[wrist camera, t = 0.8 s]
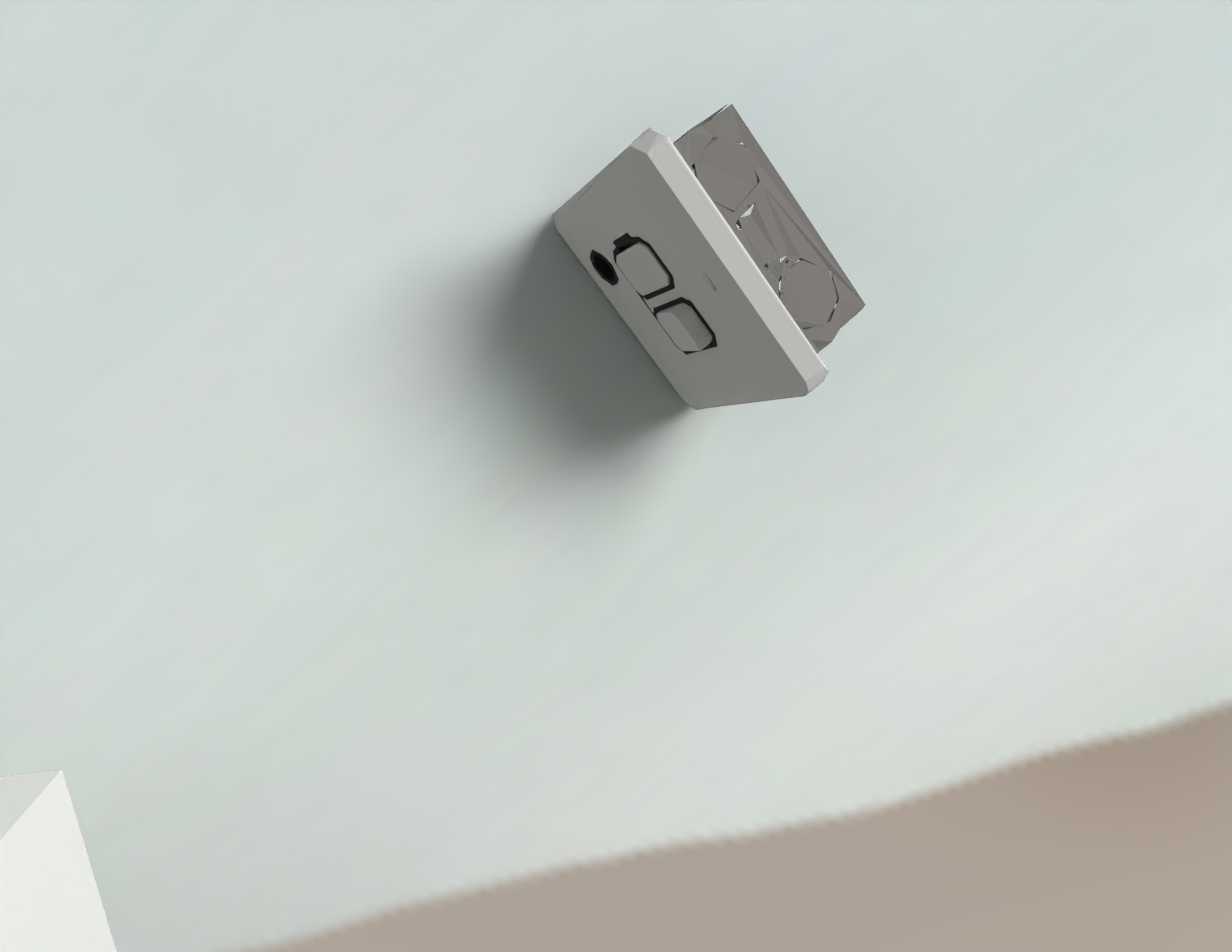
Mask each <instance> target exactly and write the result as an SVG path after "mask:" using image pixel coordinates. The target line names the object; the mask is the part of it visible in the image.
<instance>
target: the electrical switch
mask: <svg viewBox="0 0 1232 952" xmlns="http://www.w3.org/2000/svg"><path fill="white" fill-rule="evenodd" d="M724 107H725V106H724ZM724 107H723V108H724ZM723 108H721V109H720V110H718V111H717V112H716V113H714V114H713V115H711V116H710V117H708V118H707V119H705V120H704V121H702V122H701V123H699V124H698V125H696V126H695V127H693V128H692V129H690V130H689V131H688V132H686V133H685V134H684V135H683V136H682V137H680V138H679V139H678V140H677V141H675V142H674V143H672V141H671V140H670V138H669V137H668V135H666V134H663V133H661V132H659V131H657V130H655V129H653V128H651V127H650V128H649V129H647V130H646V131H645V132H643V133H642V134H641V135H640V136H639V137H638V138H637V139H636V140H635V141H634V142H633V143H632V144H631V145H630V146H629V147H628V148H627V149H625V150H624V151H623V152H622V153H621V154H620V155H619V156H618V157H616V158H615V159H614V160H613V161H612V162H611V163H610V164H609V165H608V166H606V167H605V168H604V169H603V170H602V171H601V172H600V173H599V174H597V175H596V176H595V177H594V178H593V179H592V180H591V181H590V182H589V183H587V184H586V185H585V186H584V187H583V188H582V189H581V190H580V191H578V192H577V193H576V194H575V195H574V196H573V197H572V198H571V199H570V200H568V201H567V202H566V203H565V204H563V205H562V206H561V207H560V208H559V209H558V210H557V211H556V212H555V213H554V214H553V219H554V222H555V226H556V229H557V231H558V232H559V234H560V235H561V236H562V238H563V239H564V240H565V242H566V243H567V244H568V246H569V247H570V249H571V250H572V251H573V253H574V254H575V255H576V257H577V258H578V259H579V261H580V262H581V263H582V265H583V266H584V267H585V269H586V270H587V271H588V273H589V274H590V276H591V277H592V278H593V280H594V281H595V282H596V284H597V285H598V286H599V288H600V289H601V290H602V292H603V293H604V294H605V296H606V297H607V298H608V300H609V301H610V303H611V304H612V305H613V307H614V308H615V309H616V311H617V312H618V313H619V315H620V316H621V317H622V319H623V320H624V321H625V323H626V324H627V325H628V327H629V328H630V329H631V331H632V332H633V334H634V335H635V336H636V338H637V339H638V340H639V342H640V343H641V344H642V346H643V347H644V348H645V350H646V351H647V352H648V354H649V355H650V356H651V358H652V359H653V361H654V362H655V363H656V365H657V366H658V367H659V369H660V370H661V371H662V373H663V374H664V375H665V377H666V378H667V379H668V381H669V382H670V383H671V385H672V386H673V387H674V389H675V390H676V392H677V393H678V394H679V395H680V397H681V398H682V399H683V400H684V402H685V403H686V404H688V405H689V406H691V407H693V408H694V409H696V410H698V409H705V408H711V407H719V406H728V405H736V404H744V403H752V402H760V401H769V400H777V399H785V398H793V397H801V396H806V395H807V394H808V393H809V392H811V391H812V390H813V389H814V388H816V387H817V386H818V385H819V384H821V383H822V382H823V381H824V379H825V377H826V375H827V373H828V369H827V368H826V366H825V365H824V363H823V362H822V360H821V359H820V357H819V356H818V355H817V354H818V352H819V351H820V350H822V349H823V348H824V347H826V346H827V345H828V344H830V343H831V342H832V341H833V339H834V338H835V336H836V334H837V333H838V331H839V329H840V328H841V327H842V326H843V325H845V324H846V323H847V322H848V321H849V320H850V319H851V318H852V317H854V316H855V315H856V314H857V313H858V312H859V311H860V310H861V309H863V308H864V306H865V303H864V302H863V300H862V299H861V297H860V296H859V294H858V293H857V291H856V290H855V288H854V287H853V285H852V284H851V282H850V281H849V279H848V278H847V276H846V275H845V273H844V272H843V270H842V269H841V267H840V266H839V264H838V263H837V261H836V260H835V258H834V257H833V255H832V254H831V252H830V251H829V249H828V248H827V246H826V245H825V243H824V242H823V240H822V239H821V237H820V236H819V234H818V233H817V231H816V230H815V228H814V227H813V225H812V224H811V222H810V221H809V219H808V218H807V216H806V215H805V213H804V212H803V210H802V209H801V207H800V206H799V204H798V203H797V201H796V200H795V198H794V197H793V195H792V194H791V192H790V191H789V189H788V188H787V186H786V185H785V183H784V182H783V180H782V179H781V177H780V176H779V174H778V173H777V171H776V170H775V168H774V167H773V165H772V164H771V162H770V161H769V159H768V158H767V156H766V155H765V153H764V152H763V150H762V149H761V147H760V146H759V144H758V143H757V141H756V140H755V138H754V137H753V135H752V134H751V132H750V130H749V129H748V127H747V126H746V124H745V123H744V121H743V120H742V118H741V117H740V115H739V114H738V112H737V111H736V109H735V108H734V106H733V105H732V104H731V105H730V106H729V107H727V108H726V109H724V110H723V111H722V112H720V111H721V110H722V109H723ZM719 112H720V113H719ZM718 113H719V114H718ZM717 114H718V115H717ZM715 115H716V116H715ZM714 116H715V117H714ZM738 142H743V144H744V145H742V144H740V143H738ZM693 162H694V164H693V165H692V163H693ZM753 204H754V207H753V209H752V212H751V215H749V216H745V217H742V218H741V216H742V215H743V214H744V213H745V212H746V211H747V210H748V209H749V208H750V207H751V206H752V205H753ZM736 224H737V225H738V226H739V227H740V228H741V229H743V230H738V229H737V227H736ZM740 228H739V229H740ZM787 255H788V256H787ZM784 256H787V257H786V258H785V259H784V260H783V261H782V262H781V263H780V258H782V257H784ZM798 260H801V261H799V262H797V261H798ZM795 262H797V263H795ZM779 263H780V264H779ZM794 263H795V264H794ZM765 266H766V267H767V268H768V269H769V270H770V271H769V270H768V269H767V268H766V267H765ZM829 271H831V274H832V277H831V274H830V272H829ZM780 280H781V291H779V281H780ZM835 304H837V305H836V307H835V309H834V306H835ZM833 309H834V310H833ZM832 311H833V312H832Z"/></svg>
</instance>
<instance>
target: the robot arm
mask: <svg viewBox="0 0 1232 952" xmlns="http://www.w3.org/2000/svg"><path fill="white" fill-rule="evenodd" d="M0 952H116V948H115V945H114V942H113V938H112V935H111V932H110V928H109V925H108V922H107V918H106V915H105V912H104V908H103V905H102V902H101V898H100V895H99V892H98V888H97V885H96V881H95V878H94V875H93V871H92V868H91V865H90V861H89V858H88V855H87V851H86V848H85V845H84V841H83V838H82V835H81V831H80V828H79V825H78V821H77V818H76V815H75V811H74V808H73V805H72V801H71V798H70V795H69V791H68V788H67V785H66V781H65V778H64V774H63V771H62V769H60V770H52V771H43V772H35V773H27V774H19V775H11V776H3V777H0Z"/></svg>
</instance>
